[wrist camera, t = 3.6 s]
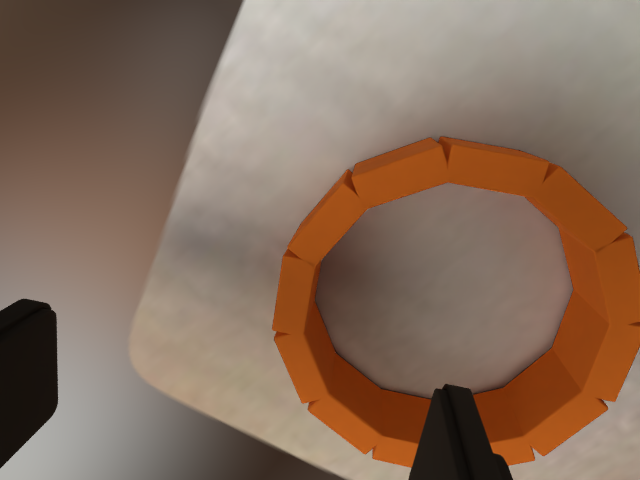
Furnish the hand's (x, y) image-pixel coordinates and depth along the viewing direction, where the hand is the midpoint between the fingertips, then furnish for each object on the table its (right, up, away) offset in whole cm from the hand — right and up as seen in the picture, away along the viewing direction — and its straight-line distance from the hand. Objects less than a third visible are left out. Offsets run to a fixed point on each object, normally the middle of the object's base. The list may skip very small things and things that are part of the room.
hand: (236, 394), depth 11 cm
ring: (+7, +1, +8) cm, 10 cm away
